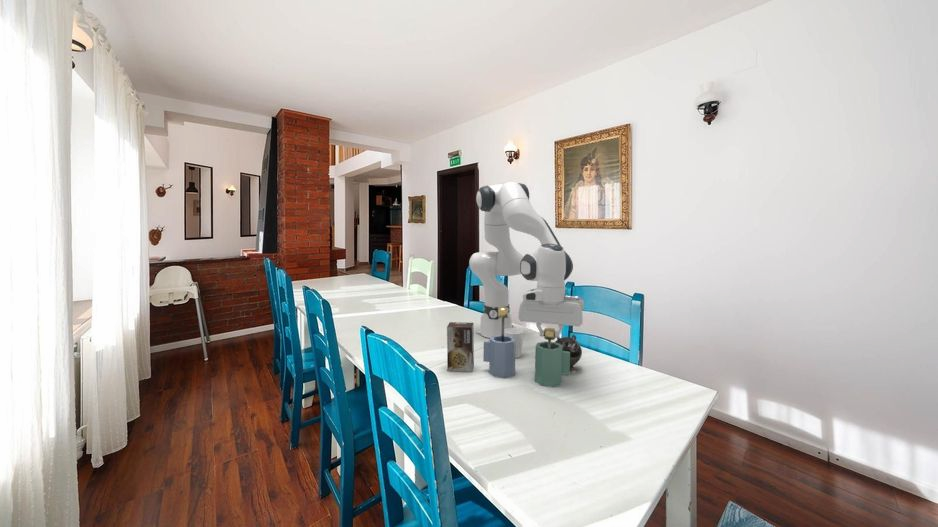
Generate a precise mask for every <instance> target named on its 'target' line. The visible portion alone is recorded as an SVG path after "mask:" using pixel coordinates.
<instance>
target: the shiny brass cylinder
mask: <svg viewBox="0 0 938 527" xmlns="http://www.w3.org/2000/svg"><path fill="white" fill-rule="evenodd" d="M543 330H544V336H543V337H544V338H543V339H544V340H547V342H548V349H551V342H552V341H554V340H556V338H555V331H556V329H555V328H552V327H545V328H544V329H543Z"/></svg>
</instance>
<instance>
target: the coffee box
mask: <svg viewBox="0 0 938 527" xmlns="http://www.w3.org/2000/svg"><path fill="white" fill-rule="evenodd" d="M474 326H475V325H474V322H466V321H465V322H462V321H460V322H459V321H457V322H456V321H454V322H453V321H449V322H448V324H447V326H446V347H447V348H446V349H447V351H446V352H447V353H446V354H447V358H446V360H447V361H446V362H447V368H446V369H447V371H448V372H469V373H470V372H471V373H472V372H474V368H475V364H474V362H475V360H474V359H475V357H474V354H475V352H474V351H475V350H474V346H475V345H474V344H475V341H474V340H475V339H474V329H475V328H474Z"/></svg>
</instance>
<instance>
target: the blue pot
mask: <svg viewBox="0 0 938 527" xmlns="http://www.w3.org/2000/svg"><path fill="white" fill-rule="evenodd" d="M515 353H516V339H515V338H513V337H511V336H505V335H504V342H501V335H498V336H492V337H491V338H489V340H484V341H483V362H486V363H489V364H488V366H489V368H488V373H489V374H490V376H491V375H492V376H493V377H496V378H502V379H505V378H506V379H507V378H510V377H514V375H515V373H516V358H515Z"/></svg>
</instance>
